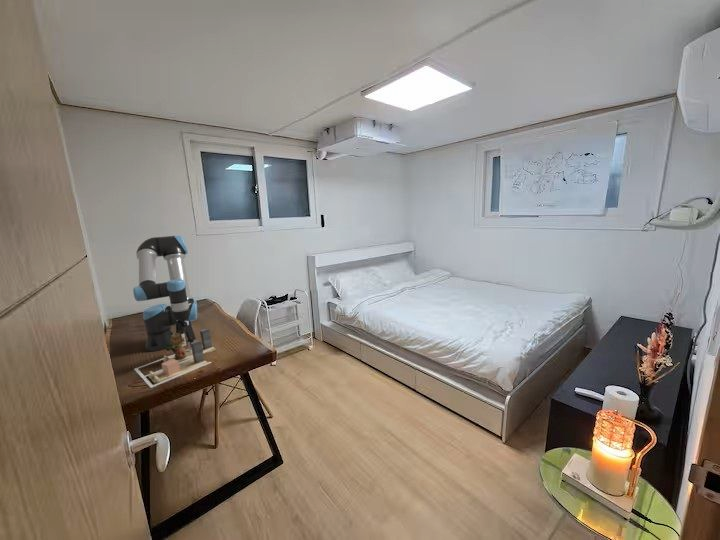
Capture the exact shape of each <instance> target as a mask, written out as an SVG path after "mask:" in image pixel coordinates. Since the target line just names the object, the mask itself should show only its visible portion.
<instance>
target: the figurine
mask: <svg viewBox="0 0 720 540" xmlns="http://www.w3.org/2000/svg"><path fill="white" fill-rule="evenodd" d="M173 333H174V334H173V335H171V341H172V343H171V344H164V346H166V347H167V348H165V350H166V351H167V352H169V351H172V352H173V354H175V355H174V357H175V358H174V359H175V360H182V359H184V358H186V354H187V352H186V350H187V349H186V348H185V347H182V345H183V344H185V343H183V342H184V341H185V340H184V339H186V336H185V337H183V338H182V335H181V332H180V333H176V332H173Z"/></svg>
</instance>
